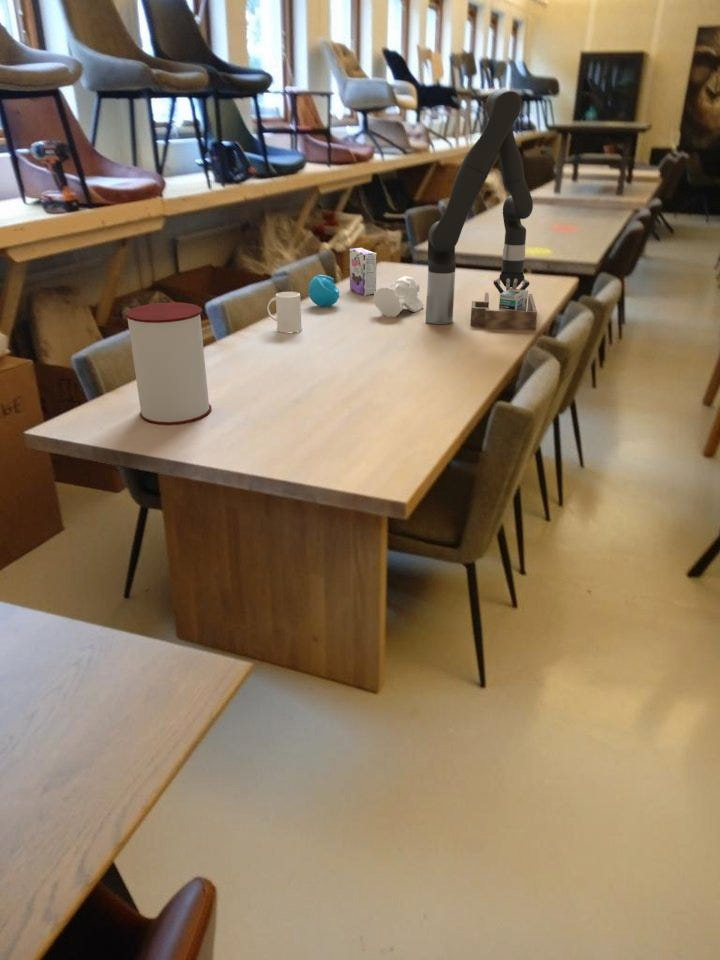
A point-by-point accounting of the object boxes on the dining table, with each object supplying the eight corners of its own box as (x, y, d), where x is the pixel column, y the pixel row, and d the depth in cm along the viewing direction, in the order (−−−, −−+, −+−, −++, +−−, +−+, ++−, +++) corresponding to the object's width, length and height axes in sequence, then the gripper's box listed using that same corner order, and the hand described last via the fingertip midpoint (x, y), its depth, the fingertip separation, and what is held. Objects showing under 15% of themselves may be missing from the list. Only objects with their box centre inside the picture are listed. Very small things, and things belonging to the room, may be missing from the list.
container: (216, 399, 192) (207, 301, 181) (206, 424, 177) (195, 319, 165) (148, 400, 191) (135, 302, 180) (132, 425, 176) (116, 320, 165)
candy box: (349, 289, 307) (348, 248, 300) (362, 288, 309) (362, 247, 302) (363, 296, 296) (363, 253, 289) (376, 295, 298) (377, 252, 291)
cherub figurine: (367, 285, 265) (395, 270, 279) (369, 319, 272) (397, 302, 286) (399, 288, 259) (426, 272, 273) (401, 323, 265) (427, 306, 279)
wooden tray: (470, 327, 253) (471, 310, 251) (471, 308, 278) (472, 292, 275) (535, 330, 251) (537, 312, 248) (530, 310, 275) (532, 294, 272)
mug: (263, 331, 250) (261, 295, 245) (275, 324, 257) (273, 289, 252) (295, 334, 246) (293, 298, 241) (306, 328, 254) (305, 292, 248)
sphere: (338, 310, 276) (338, 278, 270) (307, 310, 276) (306, 278, 271) (340, 302, 286) (339, 271, 281) (310, 302, 287) (309, 271, 281)
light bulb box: (515, 327, 253) (518, 295, 249) (496, 325, 256) (499, 293, 252) (525, 320, 262) (529, 289, 257) (507, 318, 265) (510, 287, 260)
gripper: (494, 259, 254) (490, 310, 261) (533, 260, 252) (528, 311, 260) (493, 255, 260) (490, 304, 268) (532, 256, 259) (527, 306, 266)
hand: (509, 307), depth 264 cm, fingers closed
